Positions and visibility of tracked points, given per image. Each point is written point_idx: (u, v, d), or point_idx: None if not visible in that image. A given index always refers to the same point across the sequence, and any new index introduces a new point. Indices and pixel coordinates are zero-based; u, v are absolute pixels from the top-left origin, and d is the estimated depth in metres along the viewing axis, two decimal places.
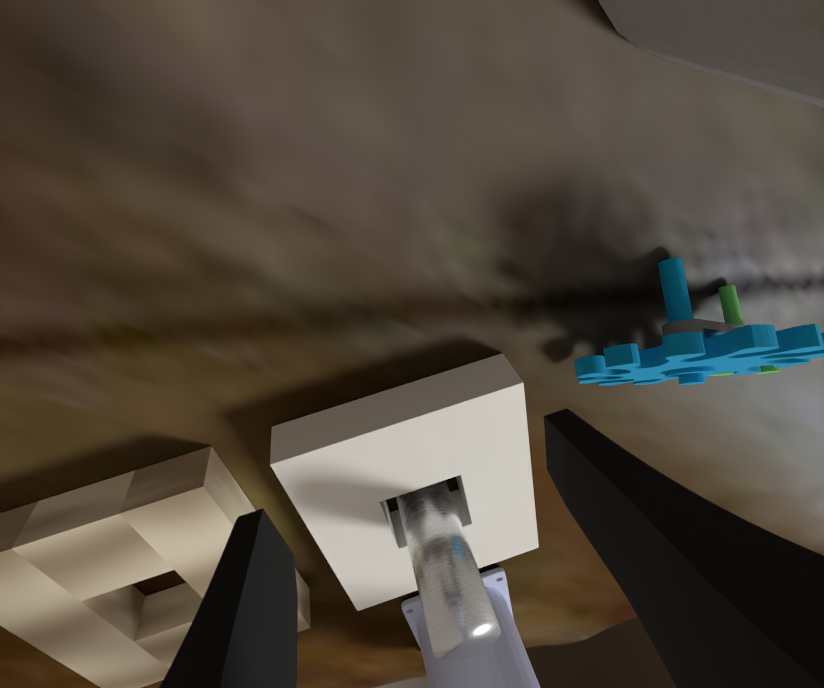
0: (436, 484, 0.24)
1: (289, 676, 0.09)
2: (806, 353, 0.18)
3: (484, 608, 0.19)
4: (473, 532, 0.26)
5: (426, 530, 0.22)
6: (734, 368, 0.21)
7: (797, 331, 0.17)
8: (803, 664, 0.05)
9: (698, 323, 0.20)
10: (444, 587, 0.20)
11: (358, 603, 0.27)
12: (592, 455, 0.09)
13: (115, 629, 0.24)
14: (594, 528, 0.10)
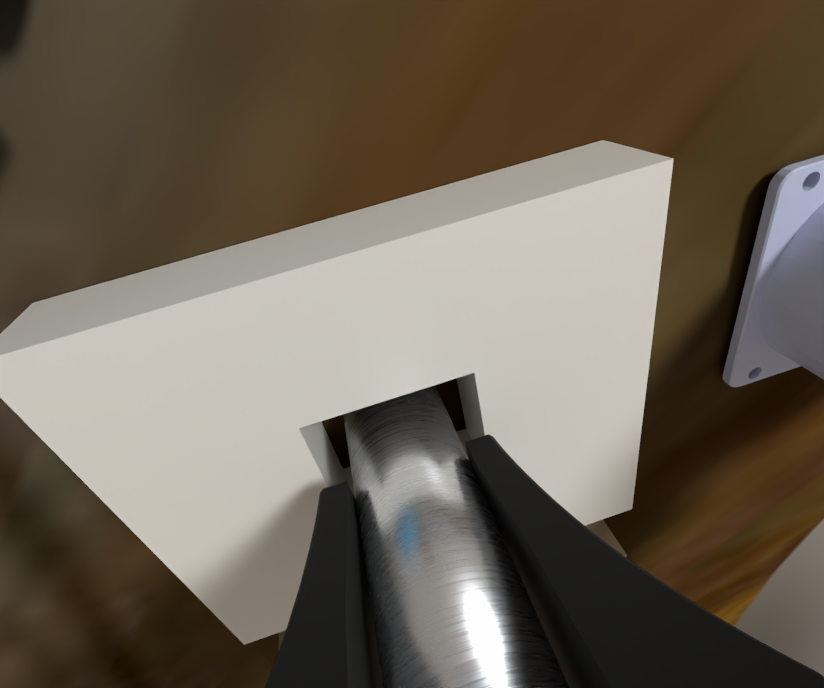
0: (351, 433, 0.12)
1: None
2: None
3: None
4: (507, 363, 0.11)
5: None
6: None
7: None
8: None
9: None
10: None
11: (611, 511, 0.16)
12: (500, 486, 0.09)
13: None
14: None
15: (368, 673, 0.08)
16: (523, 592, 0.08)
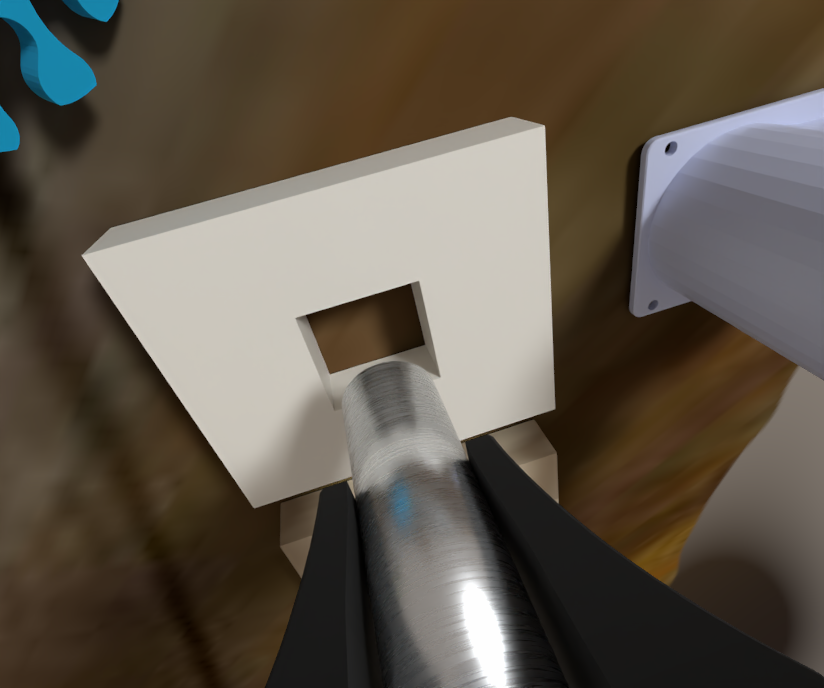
0: (351, 433, 0.12)
1: None
2: None
3: None
4: (443, 274, 0.16)
5: None
6: None
7: None
8: None
9: None
10: None
11: (538, 409, 0.20)
12: (499, 486, 0.09)
13: None
14: None
15: (368, 673, 0.08)
16: (522, 591, 0.08)
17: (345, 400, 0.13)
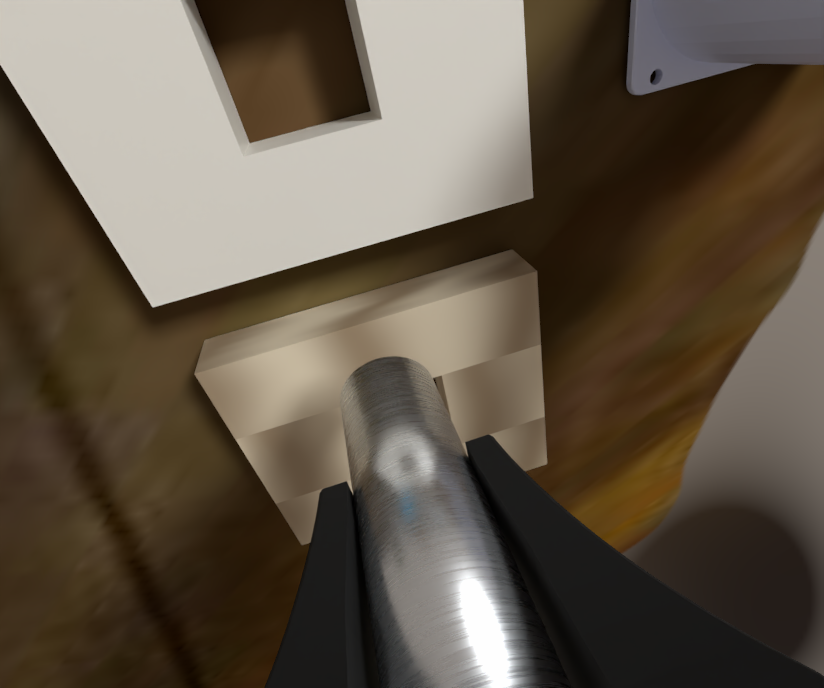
0: (349, 428, 0.12)
1: None
2: None
3: None
4: None
5: None
6: None
7: None
8: None
9: None
10: None
11: (511, 196, 0.16)
12: (500, 486, 0.09)
13: None
14: None
15: (368, 673, 0.08)
16: (520, 582, 0.08)
17: (343, 396, 0.13)
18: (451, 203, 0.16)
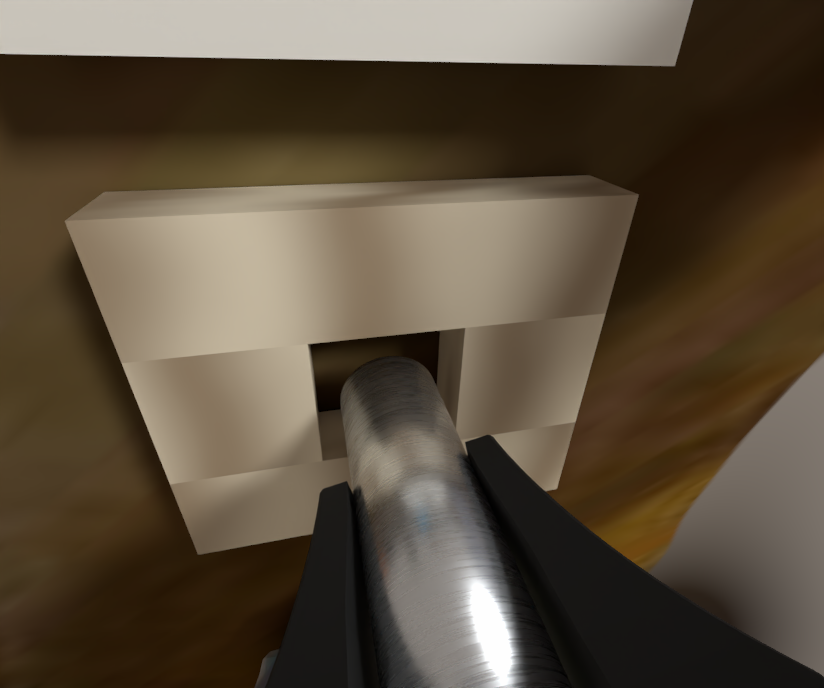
0: (349, 427, 0.12)
1: None
2: None
3: None
4: None
5: None
6: None
7: None
8: None
9: None
10: None
11: (648, 50, 0.10)
12: (499, 486, 0.09)
13: None
14: None
15: (368, 673, 0.08)
16: (520, 581, 0.08)
17: (343, 395, 0.13)
18: (564, 29, 0.10)
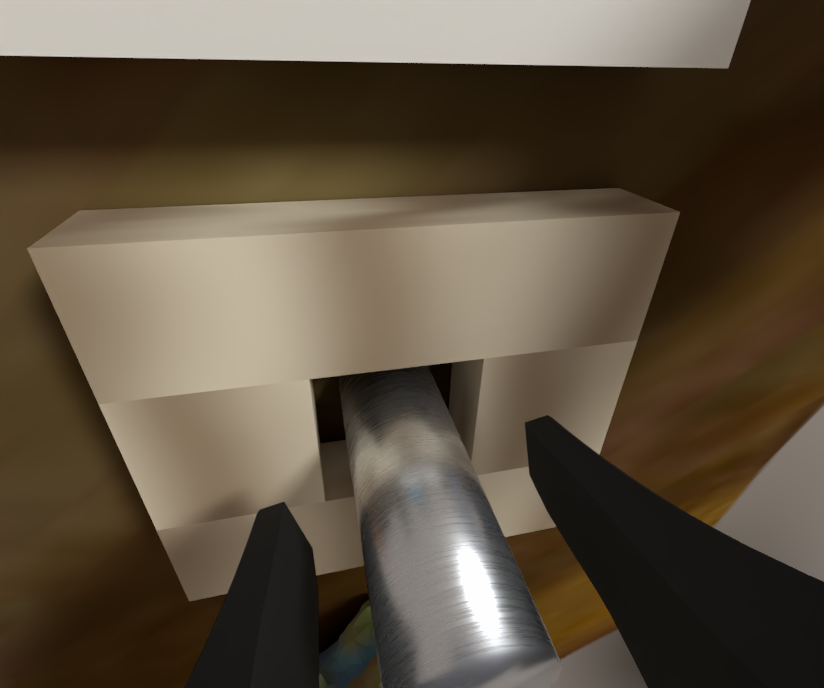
0: (346, 405, 0.13)
1: (313, 668, 0.09)
2: None
3: (397, 653, 0.07)
4: None
5: None
6: None
7: None
8: (764, 680, 0.05)
9: None
10: None
11: (700, 51, 0.09)
12: (569, 463, 0.09)
13: None
14: (573, 535, 0.10)
15: None
16: (501, 538, 0.09)
17: (341, 376, 0.14)
18: (606, 26, 0.08)
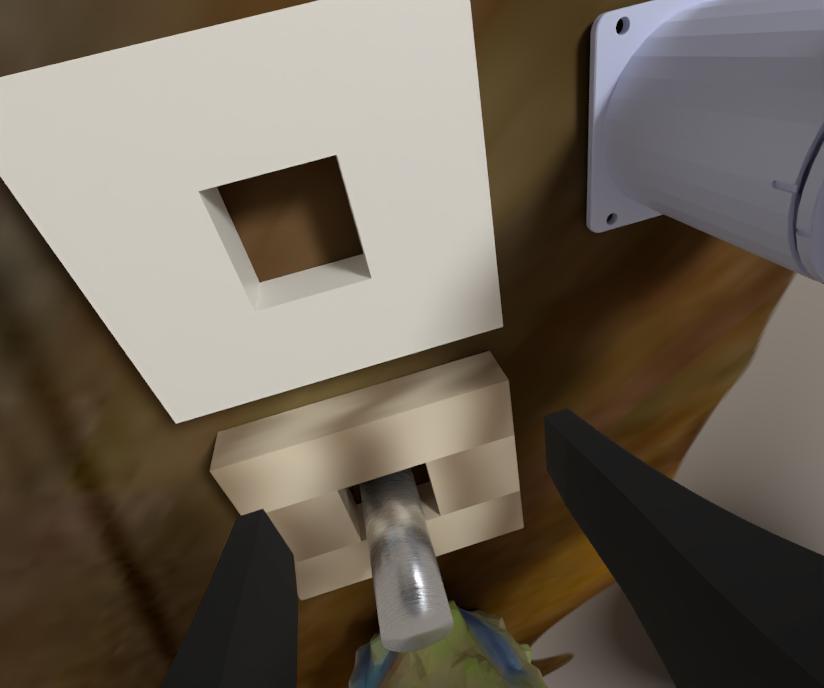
0: (361, 492, 0.24)
1: (289, 676, 0.09)
2: None
3: (382, 618, 0.18)
4: (363, 149, 0.14)
5: None
6: None
7: None
8: (803, 664, 0.05)
9: None
10: None
11: (484, 326, 0.19)
12: (592, 455, 0.09)
13: None
14: (593, 528, 0.10)
15: None
16: (429, 563, 0.20)
17: None
18: (431, 334, 0.19)
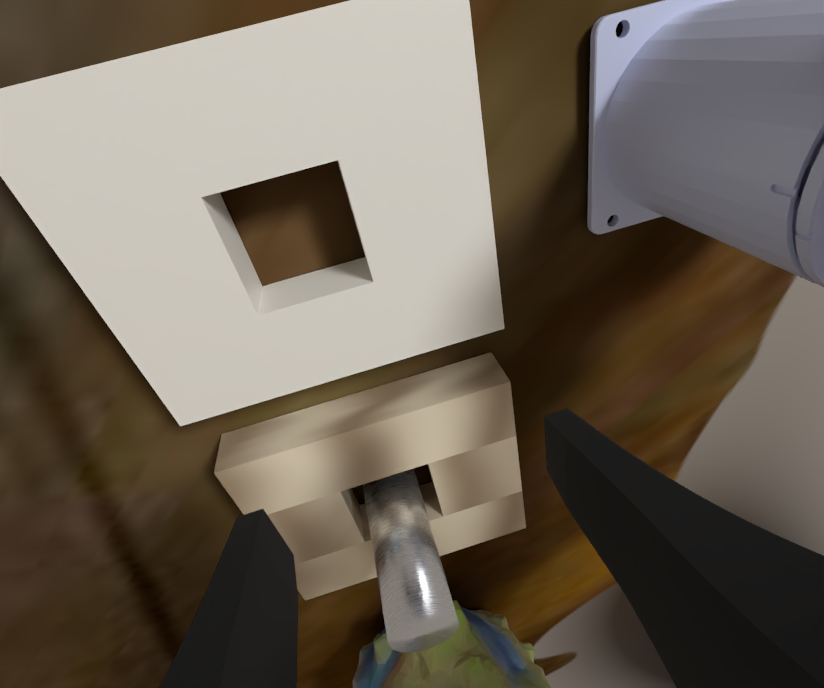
0: (364, 494, 0.24)
1: (289, 676, 0.09)
2: None
3: (388, 619, 0.18)
4: (365, 154, 0.14)
5: None
6: None
7: None
8: (803, 664, 0.05)
9: None
10: None
11: (485, 328, 0.19)
12: (592, 455, 0.09)
13: None
14: (593, 528, 0.10)
15: None
16: (434, 565, 0.20)
17: None
18: (433, 337, 0.19)
